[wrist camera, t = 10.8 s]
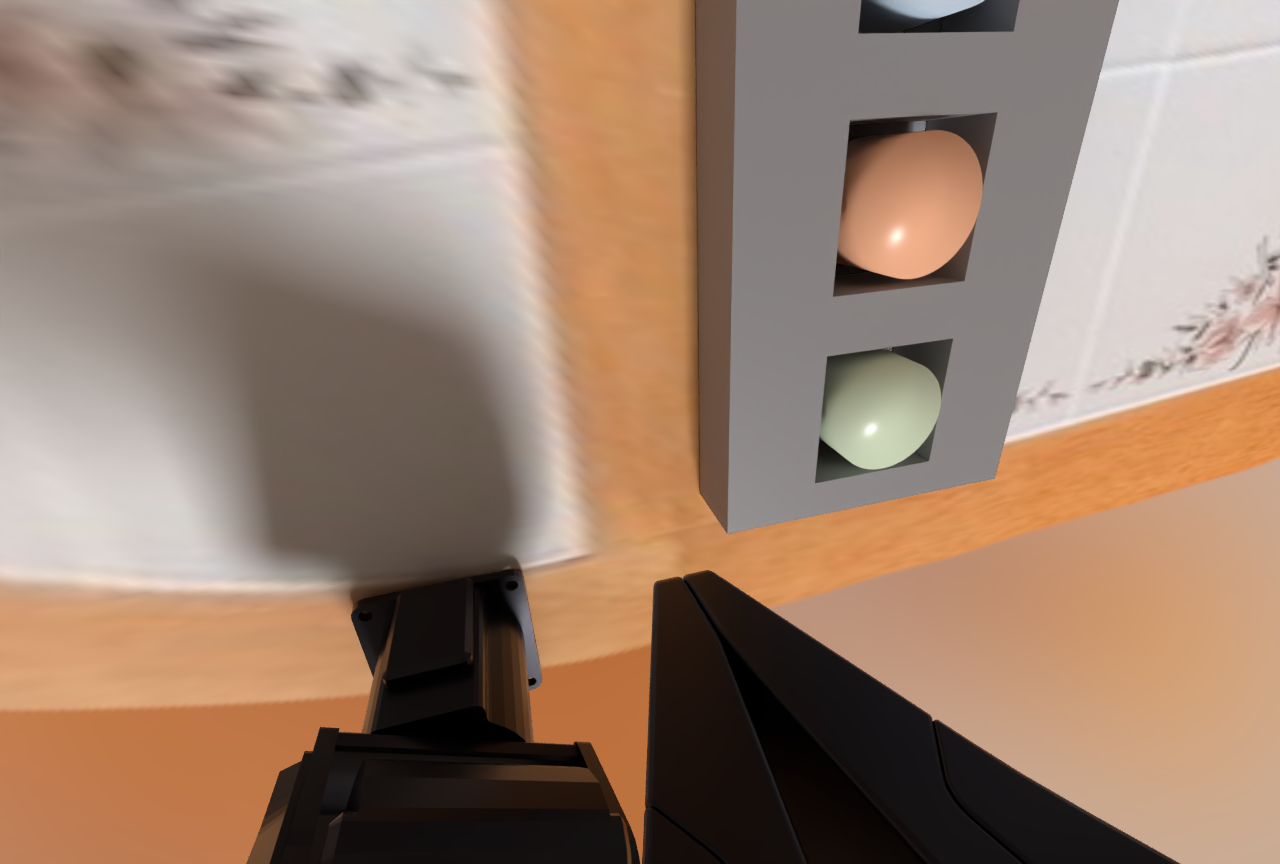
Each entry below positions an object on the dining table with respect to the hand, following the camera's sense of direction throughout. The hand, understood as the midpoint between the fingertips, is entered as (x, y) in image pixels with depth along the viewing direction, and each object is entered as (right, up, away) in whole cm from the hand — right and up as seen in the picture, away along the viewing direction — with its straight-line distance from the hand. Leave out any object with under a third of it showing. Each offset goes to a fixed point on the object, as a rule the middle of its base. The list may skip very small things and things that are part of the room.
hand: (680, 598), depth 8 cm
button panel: (+7, +11, +12) cm, 17 cm away
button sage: (+8, +4, +15) cm, 17 cm away
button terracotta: (+7, +11, +12) cm, 17 cm away
